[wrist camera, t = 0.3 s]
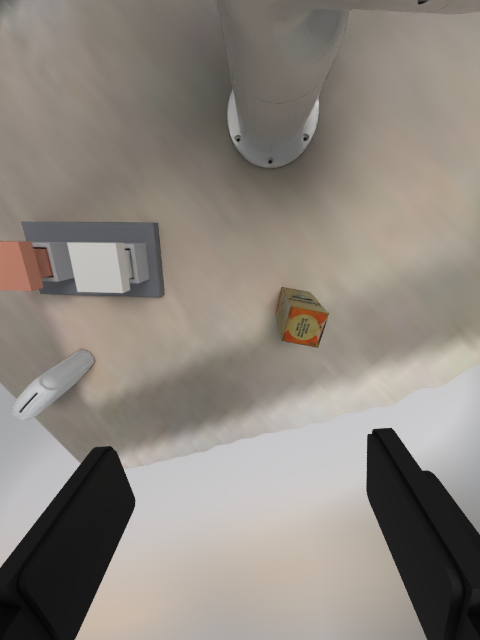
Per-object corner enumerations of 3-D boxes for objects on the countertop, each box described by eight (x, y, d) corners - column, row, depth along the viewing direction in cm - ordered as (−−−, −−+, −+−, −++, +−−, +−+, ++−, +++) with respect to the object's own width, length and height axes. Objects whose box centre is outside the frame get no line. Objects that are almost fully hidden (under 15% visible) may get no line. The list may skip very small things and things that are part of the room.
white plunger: (96, 241, 37) (66, 242, 31) (137, 241, 36) (115, 243, 31) (103, 283, 39) (77, 291, 33) (142, 284, 39) (123, 293, 33)
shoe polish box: (302, 318, 44) (318, 347, 33) (275, 313, 44) (281, 340, 33) (310, 292, 43) (329, 313, 31) (282, 286, 43) (290, 305, 31)
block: (31, 222, 42) (-4, 220, 36) (157, 223, 40) (141, 221, 35) (49, 291, 46) (19, 299, 40) (164, 294, 44) (151, 303, 39)
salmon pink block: (14, 240, 38) (-29, 241, 32) (54, 240, 37) (18, 241, 32) (26, 281, 40) (-12, 289, 34) (63, 282, 39) (31, 290, 34)
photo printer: (72, 387, 53) (20, 431, 41) (56, 374, 52) (-2, 415, 40) (99, 359, 50) (51, 397, 38) (82, 345, 49) (28, 379, 37)
